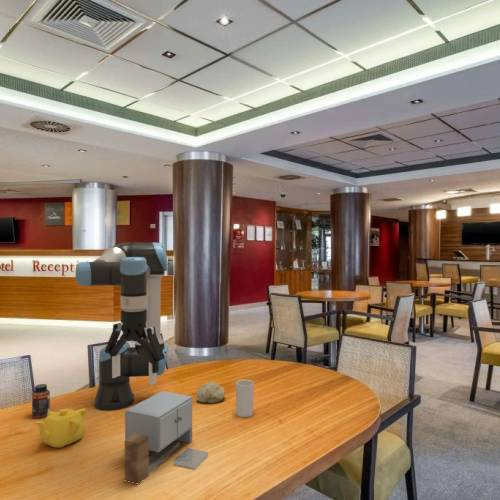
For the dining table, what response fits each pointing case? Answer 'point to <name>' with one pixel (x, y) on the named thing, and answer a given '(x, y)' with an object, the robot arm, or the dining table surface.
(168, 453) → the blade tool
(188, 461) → the plate
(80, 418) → the teapot
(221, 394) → the decorative item
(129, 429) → the low cabinet
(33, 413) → the supplement bottle
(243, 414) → the mug
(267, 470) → the dining table surface
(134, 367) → the robot arm
